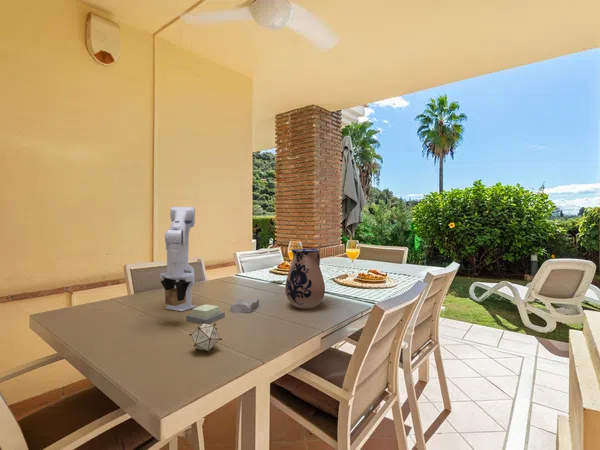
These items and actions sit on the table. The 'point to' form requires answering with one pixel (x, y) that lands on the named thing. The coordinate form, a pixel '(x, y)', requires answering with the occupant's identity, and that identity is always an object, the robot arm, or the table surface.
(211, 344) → the game die
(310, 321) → the table surface
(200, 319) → the grey square slab
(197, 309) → the sage block
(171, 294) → the walnut cube
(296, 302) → the ceramic pitcher
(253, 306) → the stone block
